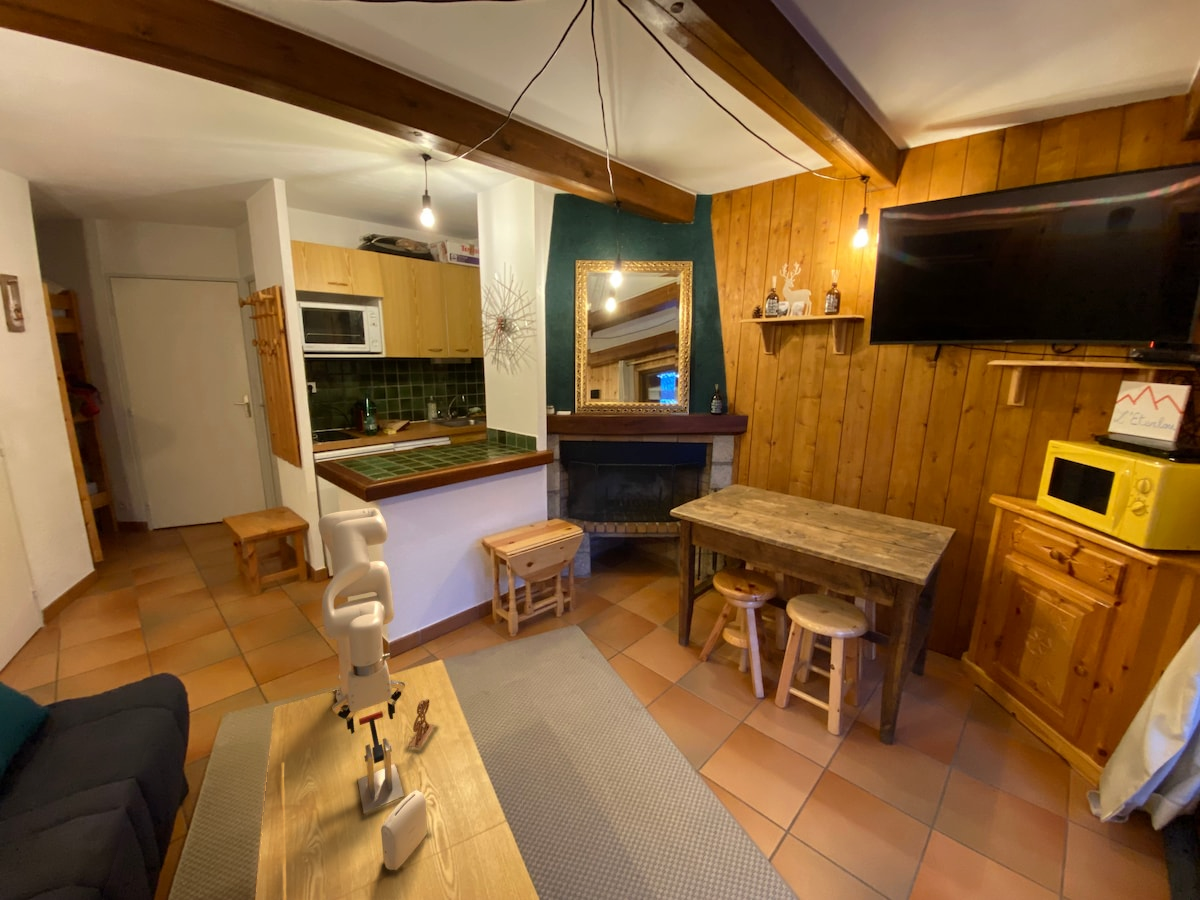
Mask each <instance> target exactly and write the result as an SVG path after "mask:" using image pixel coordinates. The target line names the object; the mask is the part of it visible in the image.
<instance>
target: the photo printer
mask: <svg viewBox="0 0 1200 900" xmlns="http://www.w3.org/2000/svg"><path fill="white" fill-rule="evenodd" d="M427 816H428V814H427V799H426V797H425V794H423V792H422V791H419V790H418V789H417V790H414V791H412V792H411V793H409V794H408V795H407V796H405V798H403V799H402V800H401V801H400V802H399V803H398V804H397V805H396V806H395V808H394V809H392V811H391V812H390V814H389V815H388V816H387V817H386V818H385V820H384V822H383V824H382V826H381V829H380V833H381V834H380V835H381V847H382V859H383V860H382V861H383V864H384V866H385V868H386V869H387V870H390V871H393V870H394V871H397V870H398V869H399V868H400V867H401V866H402V865H403V864H404V863H405V862H406V860H407V859H408V858H409V857H410V856H411V855H412V853H414V851H415V850H416V849H417V848H418V846H419V845H420V844H421V843H422V841H424V839H425V837H426V835H428V817H427Z"/></svg>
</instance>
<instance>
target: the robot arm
mask: <svg viewBox="0 0 1200 900" xmlns="http://www.w3.org/2000/svg"><path fill="white" fill-rule="evenodd" d="M317 526H318V532H319V535H320V537H321V539H322V541H323V543H324V545H325V546H326V548H327V550H328V553H329V555H330V560H331V569H332V579H331V580H330V581H329V583H328V584H327V586H326V588H325V590H324V592H323V595H322V599H321V613H322V621H323V630H324V634H325V636H326V637H327V639H329V640H332V641H336V645H337V656H338V666H339V668H338V669H339V675H338V676H337V680H338V681H339V682H340V687H338V689H337V691H336V693H335V700H336V701H337V702H335V703H334V704H333V705H332V707H331V709H332V711H333V713H335V715H337V716H338V717H339V718H342V719H344V720H345V721H346V729H347V731H348V730H350V734H351V735H352V734H355V722H354V721H355V720H354V715H355V714H356V713H357V712H359V711H361V710H365V709H367V708H370V707H374V706H377V705H379V704H382V703H385V702H386V703H387V714H388V717H389V720H394V714H395V713H396V704H397V701H398V700H399V699H400V697H401V696H402V693H404V690H405V688H406V684H405V682H403V681H398V680H391V676H390V670H389V666H388V665H389V664H388V663H387V660H389V659H390V658H391V655H390V653H385V652H384V642H383V626H384V625H387V624H390V623H391V622H392V621H393V620H394V617H395V605H394V597H393V590H392V582H391V575H390V570H389V566H388V565H387V564H386V562H385V561H382V560H373V561H370V554H369V549H368V547H369V546H370V547H371V546H375V545H382V544H384V543H385V542H386V541H387V540H388V525H387V523H386V519H385V518H384V516H383V515H382V513H381V511H380V509H378V508H377V507H367V508H360V509H359V508H358V509H351V510H341V511H336V512H331V513H327V514H325V515H322V516H321V517H320V518H319V519H318V525H317ZM369 593H375V594H376V595H372V596H368V597H363V598H362V597H361V598H358V599H353V600H349V601H345V602H342V603H340V604H339V605H337V606H335V605H334V604H335V599H336V597H339V598H350V597H356V596H359V595H365V594H369ZM392 689H396V690H395V691H394V692H392V691H393V690H392ZM338 690H339V691H338ZM343 706H347V707H346V709H344V708H342V707H343Z"/></svg>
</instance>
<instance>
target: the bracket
mask: <svg viewBox="0 0 1200 900" xmlns="http://www.w3.org/2000/svg"><path fill="white" fill-rule="evenodd" d="M382 747H383V752H384V760H383V765H384V767H383V768H382V769H378V770H376V771H375V770H374V759H373V754H372V747H371V744H366V745H365V747H364V748H365V755H363V756H364V757H363V758H364V763H366V775H364V776H362V777H359V778H357V784H358V790H359V797H360V801H361V806H362V811H363V815H366V814H368V813H370V812H372V811H375V810H377V809H379V808H381V807H383V806H385V805H388V804H390V803H393V802H394V801H396V800H399V799H401V798H403V797H405V793H404V790H403V787H402V783H401V780H400V777H399V773H398V769H397V766H396V763H393V764H392V755H391V754H392V752H393V751H392V749H393V748H392V745H390V744H389V740H388V737H384V738H382Z"/></svg>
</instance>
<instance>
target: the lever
mask: <svg viewBox="0 0 1200 900" xmlns="http://www.w3.org/2000/svg"><path fill="white" fill-rule="evenodd" d="M383 713H384V712H383V711H382V710H381V711H378V712H374V713H372V714H369V715H366V716H363V717H361V718H358V723H359V726H362V725H365V724H368V723H369V728H370V733H371V738H372V744H373V746H372V747H371V752H372V756H373V765H375V764H378V763H379V762H382V761H384V751H383V743H380V742H379V737H378V733H377V727H376V722H375V721H376V720H379V719H383V717H384V714H383Z"/></svg>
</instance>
